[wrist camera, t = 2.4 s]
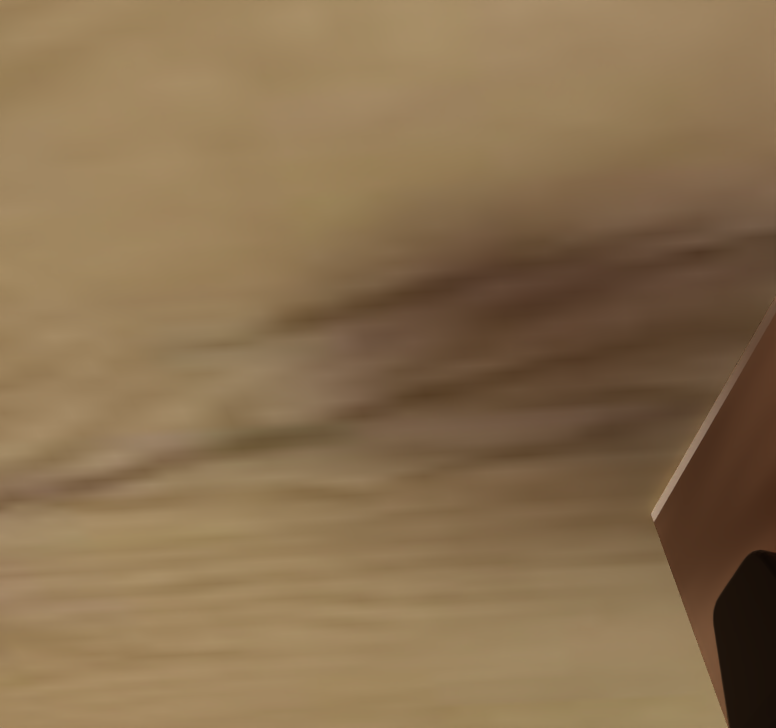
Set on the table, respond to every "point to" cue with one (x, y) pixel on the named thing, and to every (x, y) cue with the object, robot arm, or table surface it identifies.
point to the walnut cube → (724, 491)
